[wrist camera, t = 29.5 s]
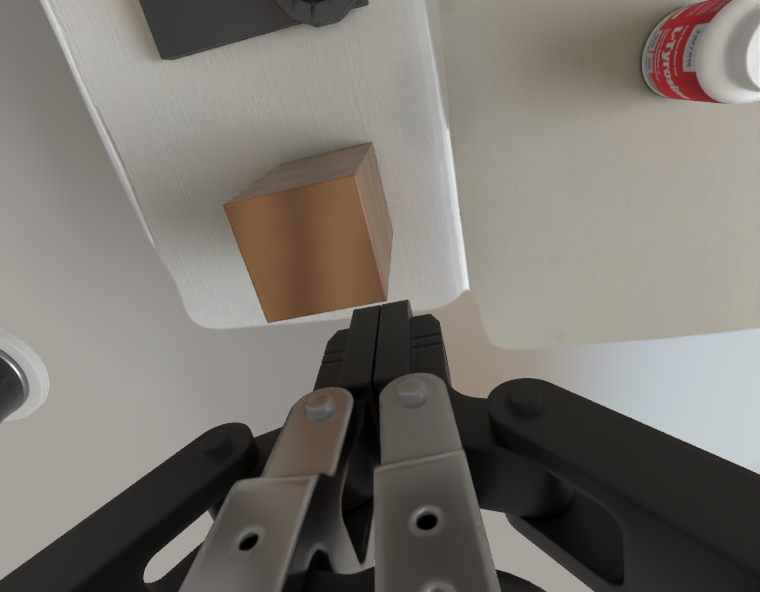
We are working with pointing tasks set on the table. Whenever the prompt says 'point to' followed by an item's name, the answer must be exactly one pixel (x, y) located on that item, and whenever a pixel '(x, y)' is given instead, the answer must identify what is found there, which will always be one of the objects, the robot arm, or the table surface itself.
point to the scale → (231, 20)
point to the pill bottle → (706, 53)
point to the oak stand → (316, 234)
